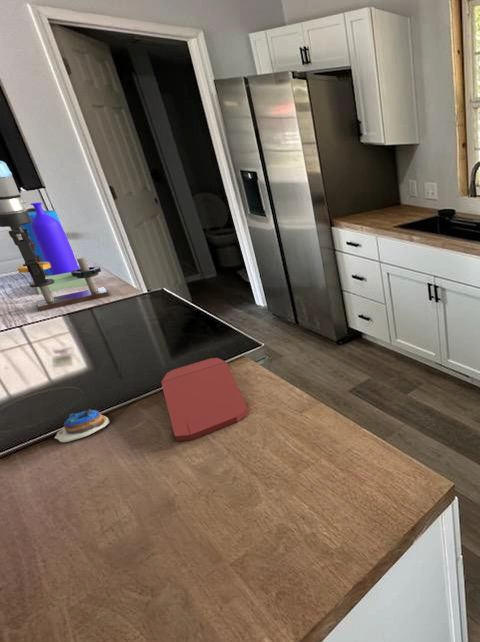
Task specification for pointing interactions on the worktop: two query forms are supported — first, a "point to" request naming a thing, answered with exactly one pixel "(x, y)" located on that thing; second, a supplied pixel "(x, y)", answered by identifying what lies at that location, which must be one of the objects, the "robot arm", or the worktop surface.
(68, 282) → the tray
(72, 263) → the bottle
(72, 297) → the rack
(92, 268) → the ring right
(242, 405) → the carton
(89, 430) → the dessert
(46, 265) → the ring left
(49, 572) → the worktop surface
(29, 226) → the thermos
